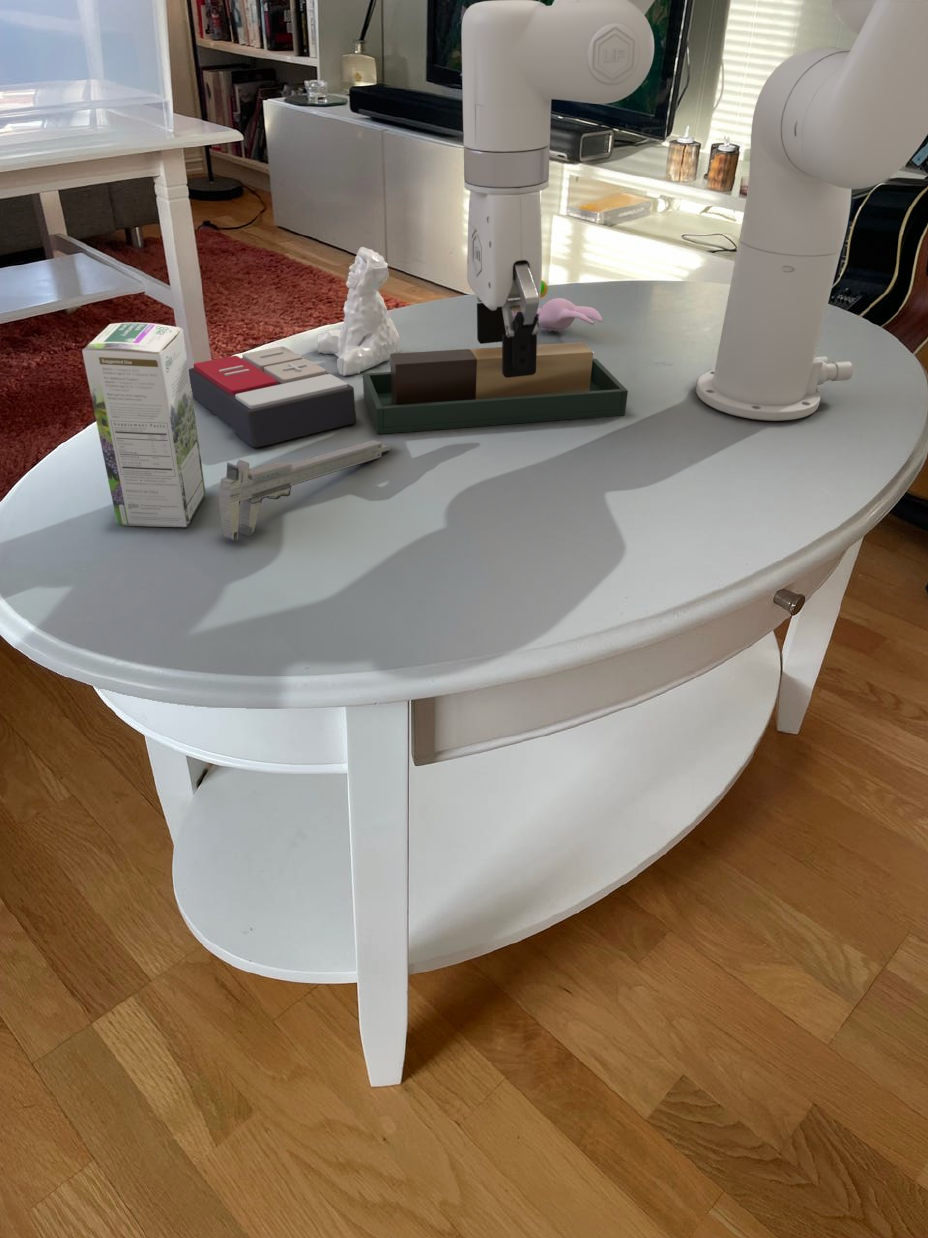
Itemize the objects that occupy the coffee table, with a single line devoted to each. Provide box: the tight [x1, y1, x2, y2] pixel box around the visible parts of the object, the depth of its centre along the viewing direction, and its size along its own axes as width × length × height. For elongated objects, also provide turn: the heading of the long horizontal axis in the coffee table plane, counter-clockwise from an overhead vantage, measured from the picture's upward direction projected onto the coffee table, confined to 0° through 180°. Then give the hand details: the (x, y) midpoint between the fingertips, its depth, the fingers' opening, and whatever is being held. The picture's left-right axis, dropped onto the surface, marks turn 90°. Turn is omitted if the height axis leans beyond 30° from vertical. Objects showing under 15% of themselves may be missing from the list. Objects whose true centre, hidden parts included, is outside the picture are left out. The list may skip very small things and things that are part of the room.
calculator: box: [188, 346, 357, 449], centre depth 92 cm, size 11×4×15 cm
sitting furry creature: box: [316, 246, 401, 377], centre depth 102 cm, size 10×9×12 cm
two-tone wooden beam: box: [389, 341, 594, 405], centre depth 93 cm, size 3×20×5 cm, turn 104°
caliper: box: [218, 439, 391, 542], centre depth 77 cm, size 20×1×6 cm, turn 148°
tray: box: [362, 358, 629, 435], centre depth 94 cm, size 25×9×3 cm, turn 103°
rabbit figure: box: [511, 279, 603, 332], centre depth 113 cm, size 6×6×15 cm
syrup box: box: [81, 322, 206, 528], centre depth 72 cm, size 6×6×14 cm
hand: (505, 357), depth 92 cm, fingers open, 9 cm apart
